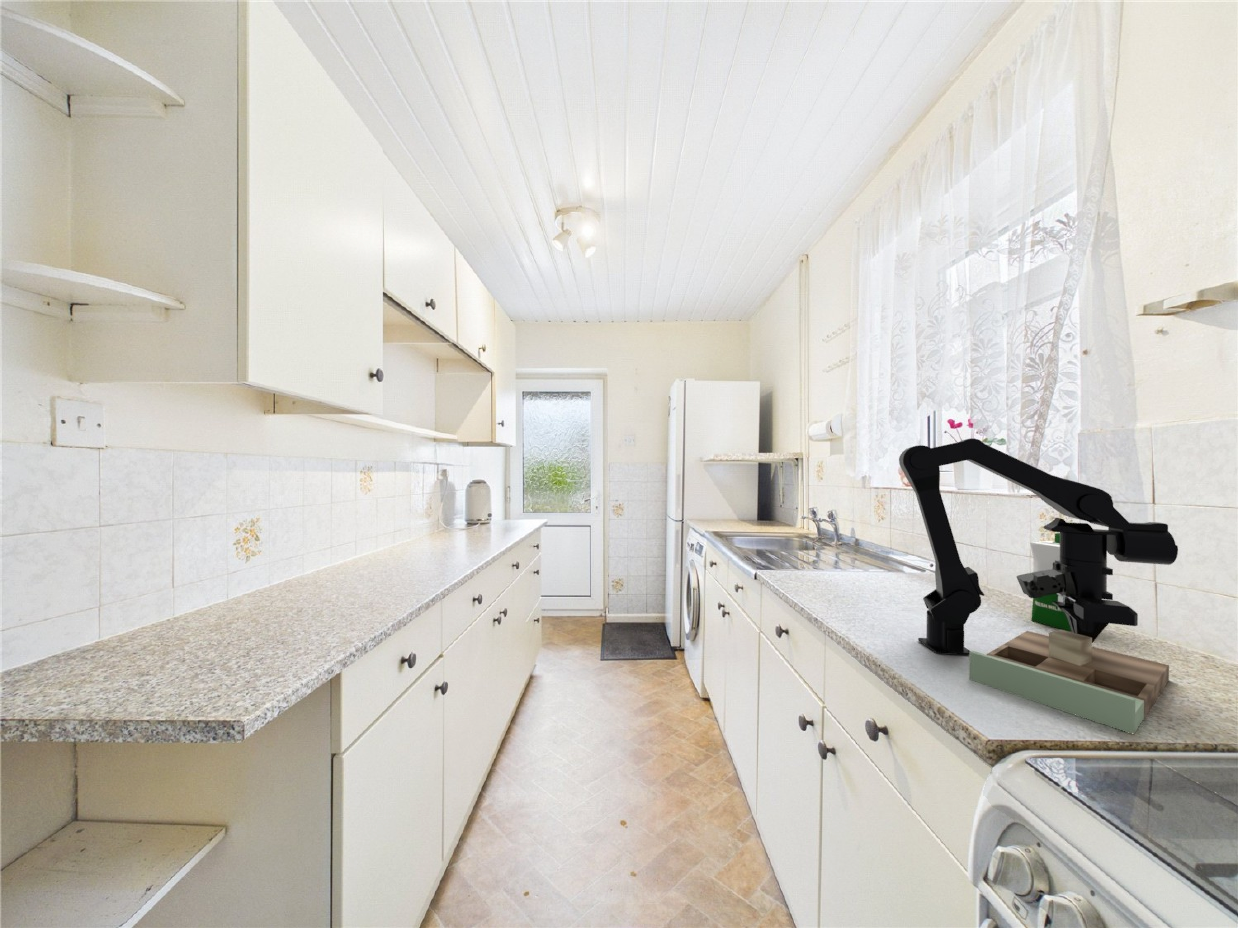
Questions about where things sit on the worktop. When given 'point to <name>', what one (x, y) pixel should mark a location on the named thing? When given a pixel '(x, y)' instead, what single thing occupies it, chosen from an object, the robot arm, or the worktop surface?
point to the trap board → (1091, 667)
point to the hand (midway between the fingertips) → (1082, 648)
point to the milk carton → (1044, 606)
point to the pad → (1058, 692)
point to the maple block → (1070, 647)
